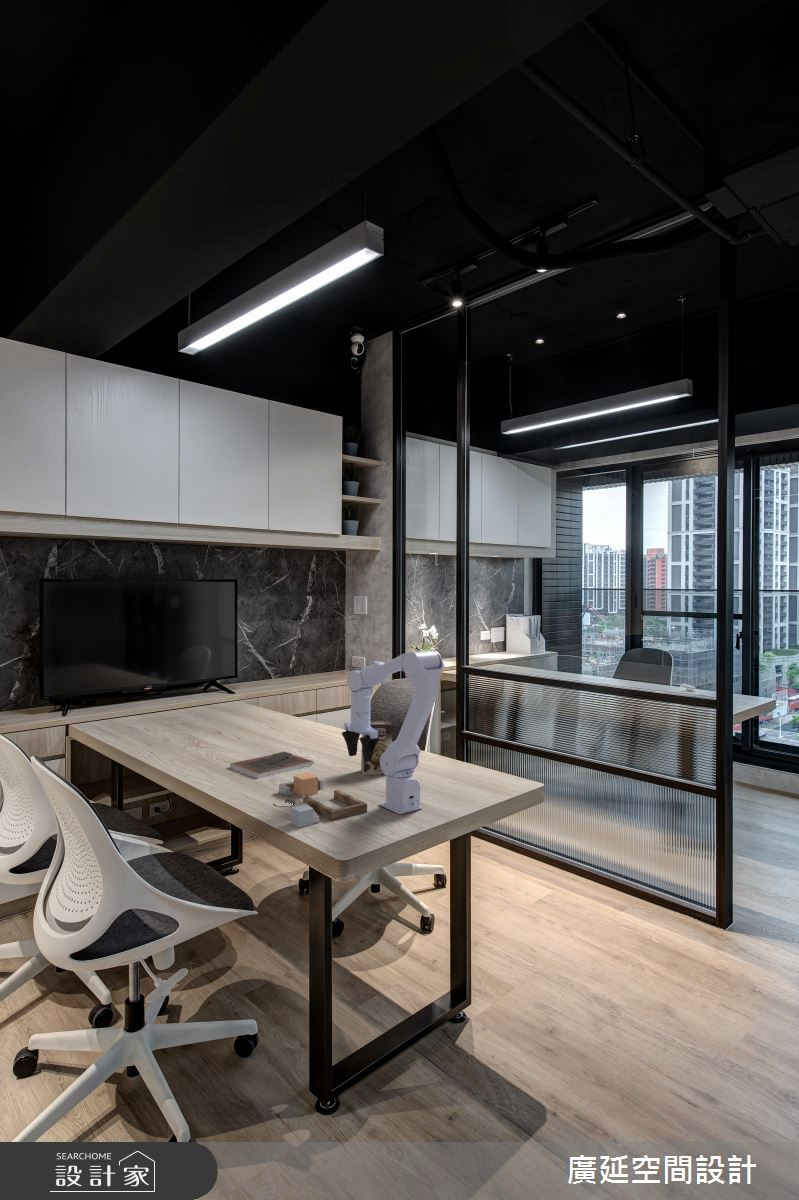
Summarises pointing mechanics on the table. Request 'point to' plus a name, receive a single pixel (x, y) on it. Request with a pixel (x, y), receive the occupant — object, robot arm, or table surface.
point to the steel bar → (315, 816)
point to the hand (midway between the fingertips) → (360, 758)
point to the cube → (305, 784)
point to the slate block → (302, 815)
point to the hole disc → (290, 801)
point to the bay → (352, 809)
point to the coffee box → (377, 748)
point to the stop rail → (289, 787)
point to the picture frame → (271, 764)
